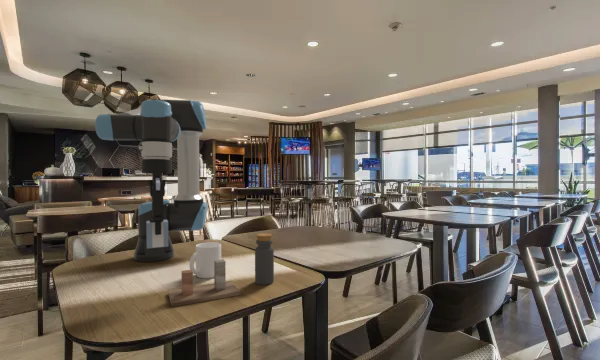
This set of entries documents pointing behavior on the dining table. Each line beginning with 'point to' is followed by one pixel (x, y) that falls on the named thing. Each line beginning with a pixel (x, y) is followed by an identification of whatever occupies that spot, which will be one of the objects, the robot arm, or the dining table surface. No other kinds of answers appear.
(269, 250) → the bottle
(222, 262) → the stand
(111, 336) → the dining table surface
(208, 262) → the mug
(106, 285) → the dining table surface
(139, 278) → the dining table surface
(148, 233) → the light blue block
